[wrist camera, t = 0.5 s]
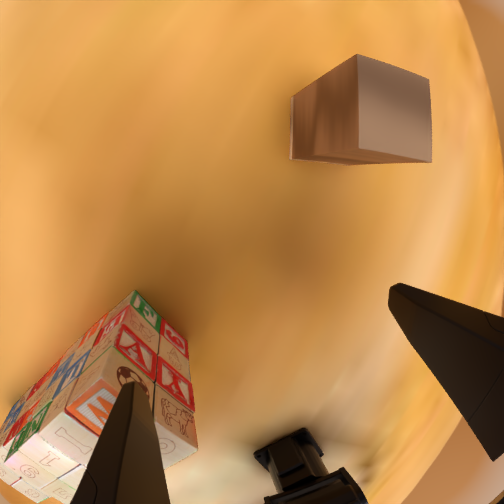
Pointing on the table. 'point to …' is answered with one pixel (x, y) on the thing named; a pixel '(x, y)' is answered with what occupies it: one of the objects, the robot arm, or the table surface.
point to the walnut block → (363, 116)
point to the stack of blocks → (98, 401)
